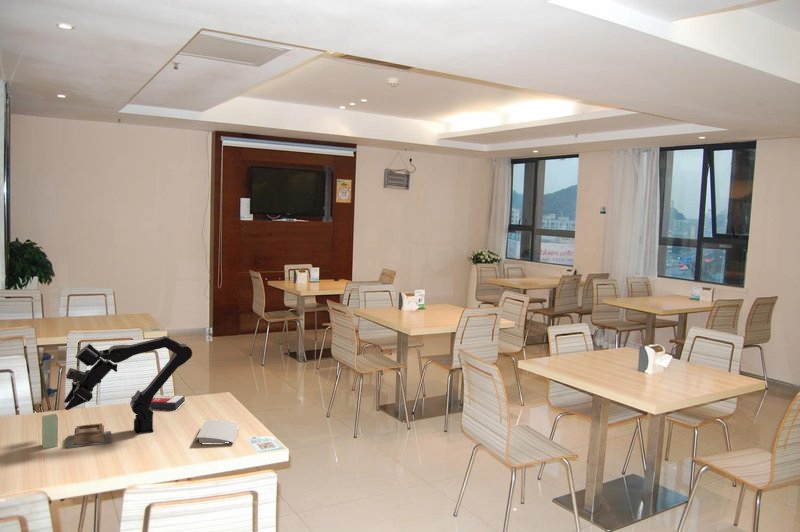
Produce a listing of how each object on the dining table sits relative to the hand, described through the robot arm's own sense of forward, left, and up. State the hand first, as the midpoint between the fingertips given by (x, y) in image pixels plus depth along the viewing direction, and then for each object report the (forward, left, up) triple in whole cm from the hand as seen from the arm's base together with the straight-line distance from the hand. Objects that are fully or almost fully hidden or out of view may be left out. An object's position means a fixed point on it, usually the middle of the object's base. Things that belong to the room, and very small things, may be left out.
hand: (65, 405), depth 229 cm
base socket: (-8, +2, -14) cm, 16 cm away
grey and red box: (-38, -32, -14) cm, 52 cm away
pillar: (+5, +3, -14) cm, 15 cm away
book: (-53, +14, -14) cm, 57 cm away
